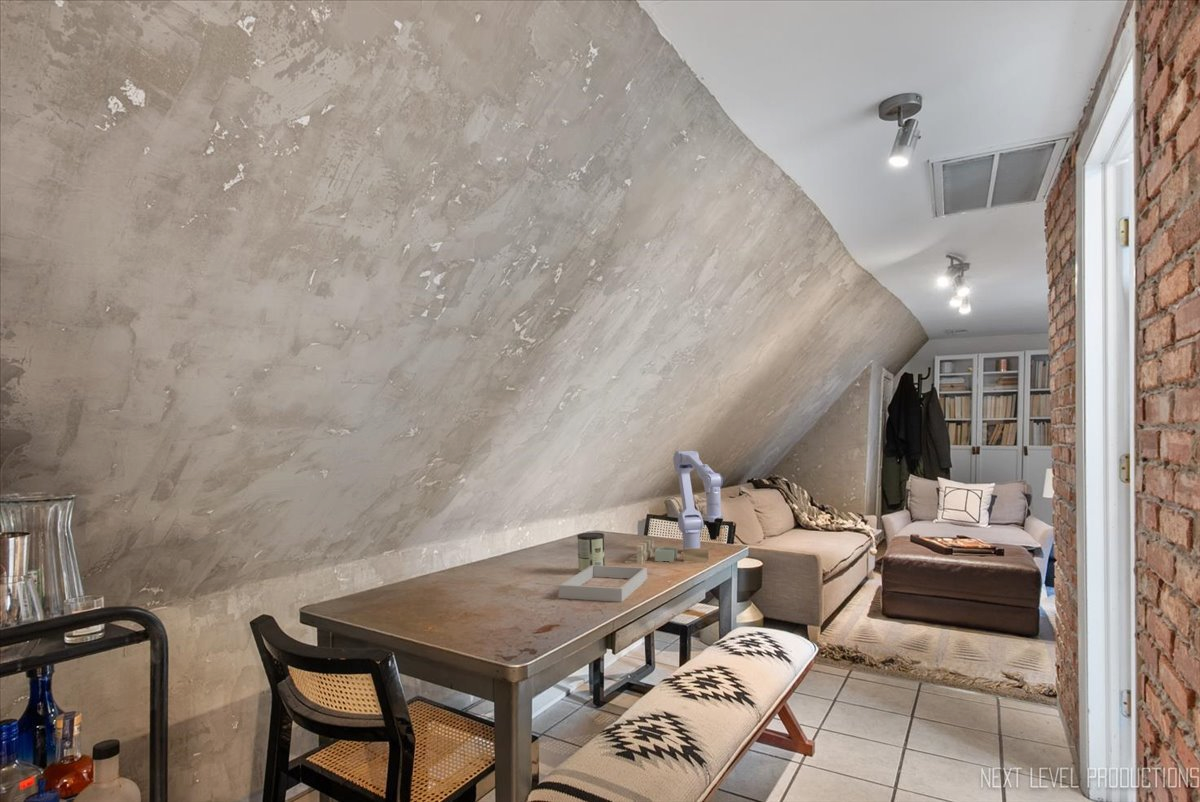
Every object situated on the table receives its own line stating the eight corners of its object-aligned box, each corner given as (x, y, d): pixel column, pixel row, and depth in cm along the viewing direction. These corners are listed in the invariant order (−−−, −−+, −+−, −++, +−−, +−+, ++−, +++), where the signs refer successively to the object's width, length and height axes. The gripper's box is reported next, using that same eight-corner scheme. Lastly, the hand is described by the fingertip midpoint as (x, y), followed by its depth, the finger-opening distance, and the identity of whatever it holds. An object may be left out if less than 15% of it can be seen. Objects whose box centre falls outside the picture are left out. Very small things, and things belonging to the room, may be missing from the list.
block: (660, 557, 264) (659, 546, 264) (677, 558, 262) (677, 547, 262) (655, 561, 256) (654, 550, 256) (673, 562, 253) (672, 550, 253)
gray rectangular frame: (591, 576, 232) (591, 565, 232) (647, 579, 225) (647, 567, 225) (558, 597, 201) (558, 585, 202) (621, 601, 195) (621, 588, 195)
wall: (638, 554, 273) (637, 537, 273) (653, 554, 270) (653, 538, 271) (625, 563, 254) (624, 545, 254) (641, 564, 251) (641, 546, 252)
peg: (684, 560, 258) (684, 548, 258) (709, 561, 255) (709, 548, 256) (683, 562, 254) (683, 549, 255) (708, 563, 252) (708, 550, 252)
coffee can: (587, 568, 246) (586, 531, 247) (610, 570, 241) (609, 533, 242) (572, 573, 238) (571, 535, 238) (595, 576, 232) (594, 537, 233)
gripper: (721, 505, 245) (722, 541, 245) (726, 502, 259) (727, 535, 258) (702, 505, 248) (704, 540, 247) (708, 501, 261) (710, 535, 260)
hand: (714, 538), depth 253 cm, fingers open, 7 cm apart
